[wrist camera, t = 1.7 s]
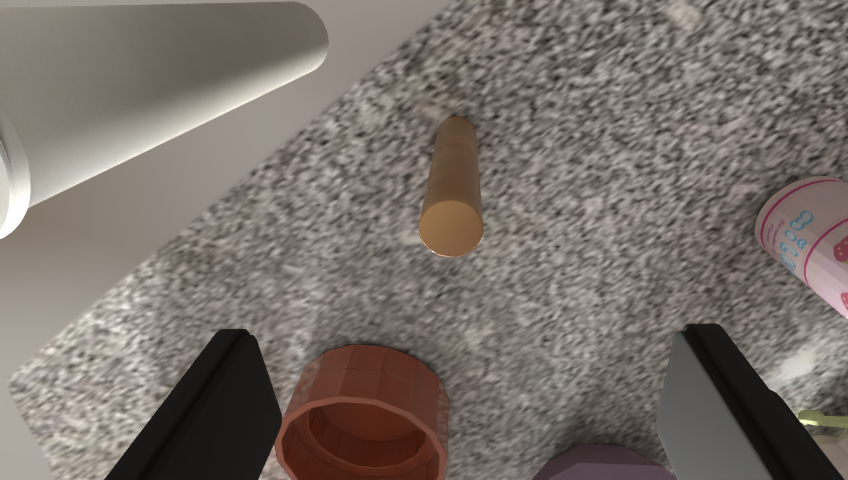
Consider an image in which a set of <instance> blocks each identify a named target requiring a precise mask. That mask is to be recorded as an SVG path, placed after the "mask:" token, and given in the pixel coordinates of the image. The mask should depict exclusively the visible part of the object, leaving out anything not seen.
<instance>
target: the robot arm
mask: <svg viewBox="0 0 848 480" xmlns="http://www.w3.org/2000/svg"><path fill="white" fill-rule="evenodd" d="M281 424H282V414H281V411H280V408H279V405H278V402H277V399H276V396H275V393H274V390H273V387H272V384H271V381H270V378H269V375H268V372H267V369H266V366H265V363H264V360H263V357H262V354H261V351H260V348H259V345H258V342H257V340H256V337H255V336H254V335H250V334H249V332H248V331H247V330H246V329H221V330H219V331H218V332H217V333H216V334H215V335H214V336H213V338H212V339H211V340H210V342H209V343H208V344H207V345H206V347H205V348H204V349H203V351H202V352H201V353H200V355H199V356H198V357H197V359H196V360H195V361H194V363H193V364H192V365H191V366H190V368H189V369H188V370H187V372H186V373H185V374H184V376H183V377H182V378H181V380H180V381H179V382H178V384H177V385H176V386H175V387H174V389H173V390H172V391H171V393H170V394H169V395H168V397H167V398H166V399H165V401H164V402H163V403H162V405H161V406H160V407H159V408H158V410H157V411H156V412H155V414H154V415H153V416H152V418H151V419H150V420H149V422H148V423H147V424H146V426H145V427H144V428H143V429H142V431H141V432H140V433H139V435H138V436H137V437H136V439H135V440H134V441H133V443H132V444H131V445H130V447H129V448H128V449H127V450H126V452H125V453H124V454H123V456H122V457H121V458H120V460H119V461H118V462H117V464H116V465H115V466H114V468H113V469H112V470H111V471H110V473H109V474H108V475H107V477H106V478H105V479H104V480H258V479H259V476H260V474H261V472H262V470H263V467H264V465H265V463H266V461H267V458H268V456H269V454H270V452H271V449H272V447H273V445H274V443H275V440H276V438H277V436H278V434H279V431H280V429H281ZM656 427H657V432H658V436H659V438H660V441H661V443H662V446H663V448H664V450H665V453H666V455H667V457H668V460H669V462H670V464H671V467H672V469H673V471H674V474H675V476H676V478H677V480H845V479H844V478H843V477H842V475H841V474H840V473H839V472H838V470H837V469H836V468H835V466H834V465H833V464H832V462H831V461H830V460H829V459H828V457H827V456H826V455H825V453H824V452H823V451H822V450H821V448H820V447H819V446H818V444H817V443H816V442H815V441H814V439H813V438H812V437H811V435H810V434H809V433H808V431H807V430H806V429H805V428H804V426H803V425H802V424H801V422H800V421H799V420H798V419H797V417H796V416H795V415H794V413H793V412H792V411H791V410H790V408H789V407H788V406H787V404H786V403H785V402H784V400H783V399H782V398H781V397H780V396H779V395H778V394H777V393H775V392H774V391H772V390H770V389H769V388H768V387H767V386H766V384H765V383H764V382H763V380H762V379H761V378H760V376H759V375H758V374H757V373H756V371H755V370H754V369H753V367H752V366H751V365H750V363H749V362H748V361H747V359H746V358H745V357H744V355H743V354H742V353H741V351H740V350H739V349H738V348H737V346H736V345H735V344H734V342H733V341H732V340H731V338H730V337H729V336H728V334H727V333H726V332H725V330H724V329H723V328H722V327H721V326H720V325H719V324H716V323H712V324H686V325H685V326H684V328H683V331H677V332H676V333H675V335H674V339H673V344H672V349H671V353H670V358H669V362H668V367H667V372H666V376H665V381H664V386H663V390H662V395H661V400H660V404H659V409H658V413H657V418H656Z"/></svg>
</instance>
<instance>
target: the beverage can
mask: <svg viewBox="0 0 848 480" xmlns="http://www.w3.org/2000/svg"><path fill="white" fill-rule="evenodd" d="M755 236H756V239H757V242H758V243H759V245H760V246H761V248H762V249H764V250H765V251H766V252H767V253H768V254H770V255H771V256H772V257H773V258H774V259H776V260H777V261H778V262H779V263H780V264H782V265H783V266H784V267H785V268H786V269H788V270H789V271H790V272H791V273H792V274H794V275H795V276H796V277H797V278H798V279H800V280H801V281H802V282H803V283H804V284H806V285H807V286H808V287H809V288H810V289H812V290H813V291H814V292H815V293H816V294H818V295H819V296H820V297H821V298H822V299H823V300H825V301H826V302H827V303H828V304H829V305H831V306H832V307H833V308H834V309H835V310H837V311H838V312H839V313H840V314H841V315H843V316H844V317H845V318H846V319H847V320H848V183H846V182H844V181H842V180H840V179H838V178H834V177H829V176H814V177H809V178H804V179H801V180H798V181H796V182H793V183H791V184H789V185H787V186H785V187H784V188H782V189H781V190H779V191H778V192H777V193H775V194H774V195H773V196H772V197H771V198H770V199H769V200H768V201H767V202H766V203H765V205H764V206H763V207H762V209H761V210H760V212H759V214H758V217H757V219H756V223H755Z"/></svg>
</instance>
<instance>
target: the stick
mask: <svg viewBox="0 0 848 480" xmlns="http://www.w3.org/2000/svg"><path fill="white" fill-rule="evenodd" d="M419 234H420V237H421V240H422V241H423V243H424V244H425V246H426V247H427V248H428V249H430V250H431V251H432V252H434V253H436V254H438V255H441V256H445V257H458V256H462V255H465V254H467V253H469V252H470V251H472V250H473V249H474V248H475V247H476V246H477V245H478V244H479V242H480V240H481V238H482V235H483V217H482V204H481V192H480V180H479V167H478V155H477V142H476V132H475V128H474V126H473V124H472V123H471V122H470V121H469V120H468V119H466V118H464V117H460V116H454V117H450V118H448V119H446V120H445V121H443V122H442V124H441V125H440V127H439V129H438V132H437V137H436V142H435V147H434V152H433V157H432V162H431V167H430V172H429V177H428V181H427V186H426V191H425V196H424V201H423V206H422V211H421V216H420V221H419Z"/></svg>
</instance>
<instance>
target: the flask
mask: <svg viewBox="0 0 848 480" xmlns="http://www.w3.org/2000/svg"><path fill="white" fill-rule="evenodd" d="M532 480H677V478H676V476H675V475H673V474H672V473H671V472H670V471H668V470H667V469H666V468H665V467H663V466H662V465H660V464H658V463H656V462H654V461H652V460H650V459H648V458H646V457H644V456H642V455H640V454H638V453H636V452H634V451H632V450H630V449H628V448H626V447H624V446H622V445H601V444H578V445H576V446H575V447H573V448H571V449H569V450H567V451H566V452H564V453H562V454H560V455H558V456H557V457H555V458H553V459H551V460H549V461H548V462H547V463H546V464H545V465H544V467H543V468H542V469H541V470H540V471H539V472H538V473H537V474H536V476H535V477H534V478H533V479H532Z"/></svg>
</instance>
